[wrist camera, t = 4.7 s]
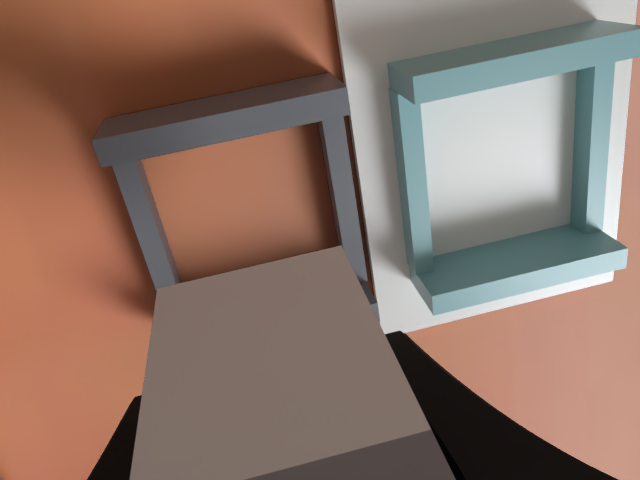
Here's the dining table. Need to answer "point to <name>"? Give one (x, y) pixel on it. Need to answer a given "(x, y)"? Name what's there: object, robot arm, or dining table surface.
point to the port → (486, 148)
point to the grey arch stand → (224, 125)
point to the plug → (278, 382)
